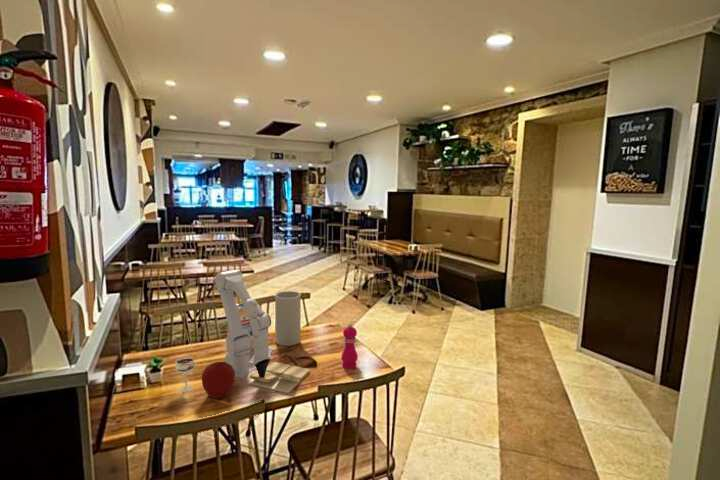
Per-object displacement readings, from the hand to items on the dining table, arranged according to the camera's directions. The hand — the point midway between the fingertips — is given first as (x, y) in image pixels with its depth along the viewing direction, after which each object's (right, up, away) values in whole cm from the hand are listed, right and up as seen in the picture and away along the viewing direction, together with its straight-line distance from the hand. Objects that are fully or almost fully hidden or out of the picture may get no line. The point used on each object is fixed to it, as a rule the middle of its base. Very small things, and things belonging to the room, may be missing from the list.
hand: (261, 376), depth 154 cm
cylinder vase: (+3, +3, +42) cm, 42 cm away
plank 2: (+10, 0, 0) cm, 10 cm away
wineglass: (-28, -3, -5) cm, 29 cm away
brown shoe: (+12, -1, +22) cm, 25 cm away
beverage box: (-18, +2, +33) cm, 37 cm away
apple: (-14, -4, -9) cm, 17 cm away
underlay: (+6, -2, +6) cm, 9 cm away
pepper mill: (+35, -2, +17) cm, 39 cm away
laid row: (+8, -1, +10) cm, 13 cm away
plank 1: (+1, -1, +3) cm, 3 cm away
